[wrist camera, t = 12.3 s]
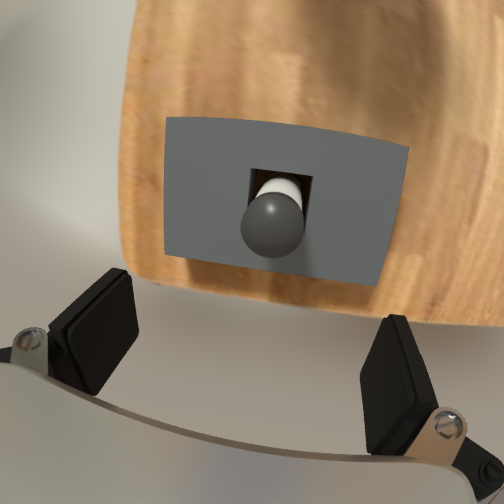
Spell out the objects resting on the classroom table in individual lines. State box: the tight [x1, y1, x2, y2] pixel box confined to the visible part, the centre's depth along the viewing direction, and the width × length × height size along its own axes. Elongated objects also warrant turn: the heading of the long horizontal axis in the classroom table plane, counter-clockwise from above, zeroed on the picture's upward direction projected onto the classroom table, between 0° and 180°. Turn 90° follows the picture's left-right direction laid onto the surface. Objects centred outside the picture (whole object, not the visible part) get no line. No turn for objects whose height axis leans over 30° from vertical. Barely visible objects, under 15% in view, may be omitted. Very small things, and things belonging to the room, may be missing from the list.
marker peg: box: [240, 172, 304, 258], centre depth 25 cm, size 4×4×12 cm
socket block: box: [164, 117, 409, 286], centre depth 29 cm, size 22×14×4 cm, turn 85°
